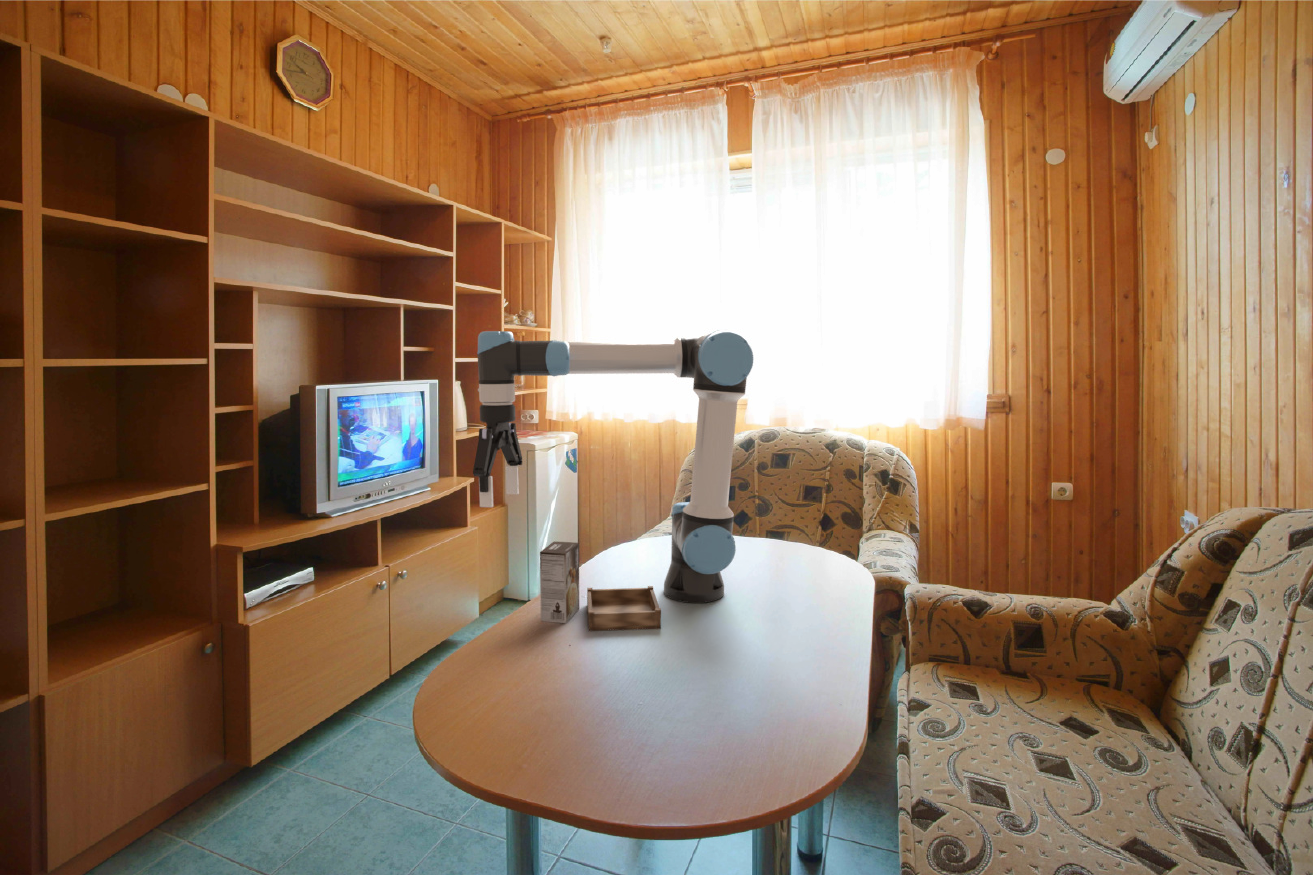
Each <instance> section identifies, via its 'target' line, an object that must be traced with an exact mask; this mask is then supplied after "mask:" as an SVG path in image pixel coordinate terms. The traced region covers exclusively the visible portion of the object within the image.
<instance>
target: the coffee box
mask: <svg viewBox="0 0 1313 875" xmlns="http://www.w3.org/2000/svg"><path fill="white" fill-rule="evenodd" d="M539 566H540V567H539V572H540V573H539V577H540V578H539V579H540V580H539V581H540V582H539V583H540V588H539V589H540V592H539V593H540V621H541V622H549V623H559V624H568V623H569V621H570V620H571V619H572V618H573V617H574V616H575V614H576V613H578V611H579V610H580V542H572V541H571V542H570V541H569V542H568V541H552V542H551V543H550V544H548V545H547V546H546V547H545V548H544V549H541V551H539Z"/></svg>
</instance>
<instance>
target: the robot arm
mask: <svg viewBox="0 0 1313 875" xmlns="http://www.w3.org/2000/svg"><path fill="white" fill-rule="evenodd" d="M476 353H477V370H478V373H477V375H478V388H477V392H478V393H479V394H478V395H479V402H480V403H482V404H480V406H479V421H480V422H482V423H485V424H486V427H485V428H479V429H478V441H477V447H476V452H475V459H474V462H473V469H472V474H473V476H474V477H478V486H479V487H478V490H479V492H478V493H479V497H478V498H479V507H480V508H493V507H494V485H493V484H494V483H493V476H492V475H491V473H492V470H493V467H494V463H495V459H496V456H497V453H498V451H499V450H501V453H502V454H503V457H504V459H505V462H506V464H507V465H505V484H506V485H505V486H506V487H505V490H506V492H505V493H506V495H519V494H520V489H519V488H520V487H519V485H520V484H519V466H522V465H523V454H522V451H521V447H520V443H519V442H520V441H519V438H518V434H517V426H516V425H517V424H516V422H515V420H516V406H515V404H514V402H515V401H516V386H515V384H516V383H515V376H518V377H522V376H531V377H534V376H538V377H539V376H540V377H541V376H542V377H544V376H549V377H550V376H552V377H558V376H566V375H576V374H577V375H578V374H582V375H584V374H587V375H588V374H593V375H596V374H599V375H600V374H601V375H602V374H604V375H605V374H609V375H610V374H616V375H617V374H618V375H619V374H622V375H623V374H625V375H627V374H674V376H676V377H677V378H689V379H690V378H691V379H693V388H692V390H693V392H694V393H695V394H696V395H697V397H698V406H697V408H698V409H697V421H696V432H695V443H694V455H693V468H692V475H691V476H692V477H691V490H690V499H689V500H690V501H688V502H686V501H684V502H683V501H682V502H676V503H675V504H673V506H672V509H671V511H672V512H671V555H670V556H671V561H670V564H669V567H668V570H667V572H666V573H667V574H666V575H665V579H664V584H663V593H664V595H665V596H666V597H667V598H670V599H672V600H674V601H677V602H684V603H691V604H692V603H697V604H698V603H710V602H714V601H717V600H720V599H721V598H723V597H724V595H725V584H724V580H723V576H722V574H721V572H722V571H723V570H725V569H726V568H728V567H729V566H730V565H731V563H732V562H733V559H734V558H735V555H736V550H737V549H736V541H735V538H734V536H733V528H734V527H733V526H734V517H735V515H734V512H733V511H732V509H731V508H730V507H729V496H730V484H731V474H732V466H733V465H732V463H733V454H734V453H733V452H734V445H735V444H734V441H735V432H736V423H737V422H736V421H737V410H738V402H739V400H740V399H741V398H742V397H744V395H746V389H747V378H748V376H749V375H750V373H751V371H752V369H753V365H754V353H753V350H752V346H751V345H750V343H749V341H748V340H747V339H746V338H745V337H744V336H742V335H741V334H739V333H737V332H734V331H732V330H728V329H725V330H716V331H712V332H708V333H704V334H700V335H694V336H685V337H684V336H681V337H680V336H679V337H678V336H677V337H676V338H675V339H674V340H672V341H565V340H556V339H553V340H552V339H551V340H516V339H515V337H514V334H513V332H512V331H506V330H505V331H504V330H501V331H499V330H486V331H484V330H483V331H481V332H480V333H479V334H478V337H477V352H476Z"/></svg>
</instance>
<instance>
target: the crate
mask: <svg viewBox="0 0 1313 875" xmlns="http://www.w3.org/2000/svg"><path fill="white" fill-rule="evenodd" d="M586 592H587V593H586V594H587V595H586V600H587V602H586V603H587V604H586V607H587V623H588V624H587V627H588V632H605V631H628V630H629V631H630V630H632V631H634V630H636V631H637V630H658V629H659V630H660V629H661V628H662V626H661V625H662V620H661V618H662V610H661V608H660V605H659V603H658V602H659V601H658V599H657V597H656V594H655V591H654V586H653V585H649V586H648V585H647V587H632V588H631V587H628V588H624V587H623V588H622V587H621V588H595V589H594V588H593V587H587V590H586Z"/></svg>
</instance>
